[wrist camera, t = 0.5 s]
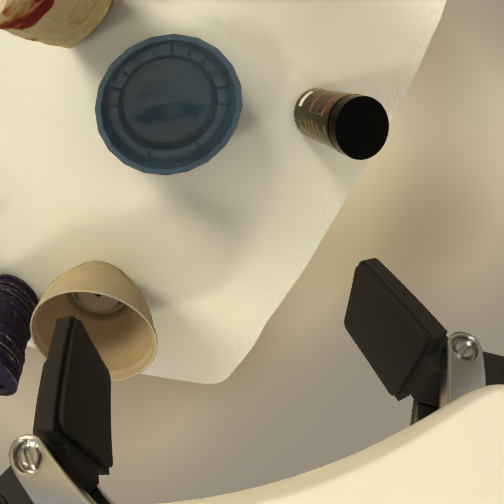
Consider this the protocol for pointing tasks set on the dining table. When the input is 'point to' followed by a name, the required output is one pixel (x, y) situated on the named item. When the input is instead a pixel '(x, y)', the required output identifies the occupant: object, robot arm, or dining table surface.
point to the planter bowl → (100, 317)
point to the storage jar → (14, 329)
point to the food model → (53, 19)
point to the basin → (168, 104)
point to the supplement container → (343, 121)
